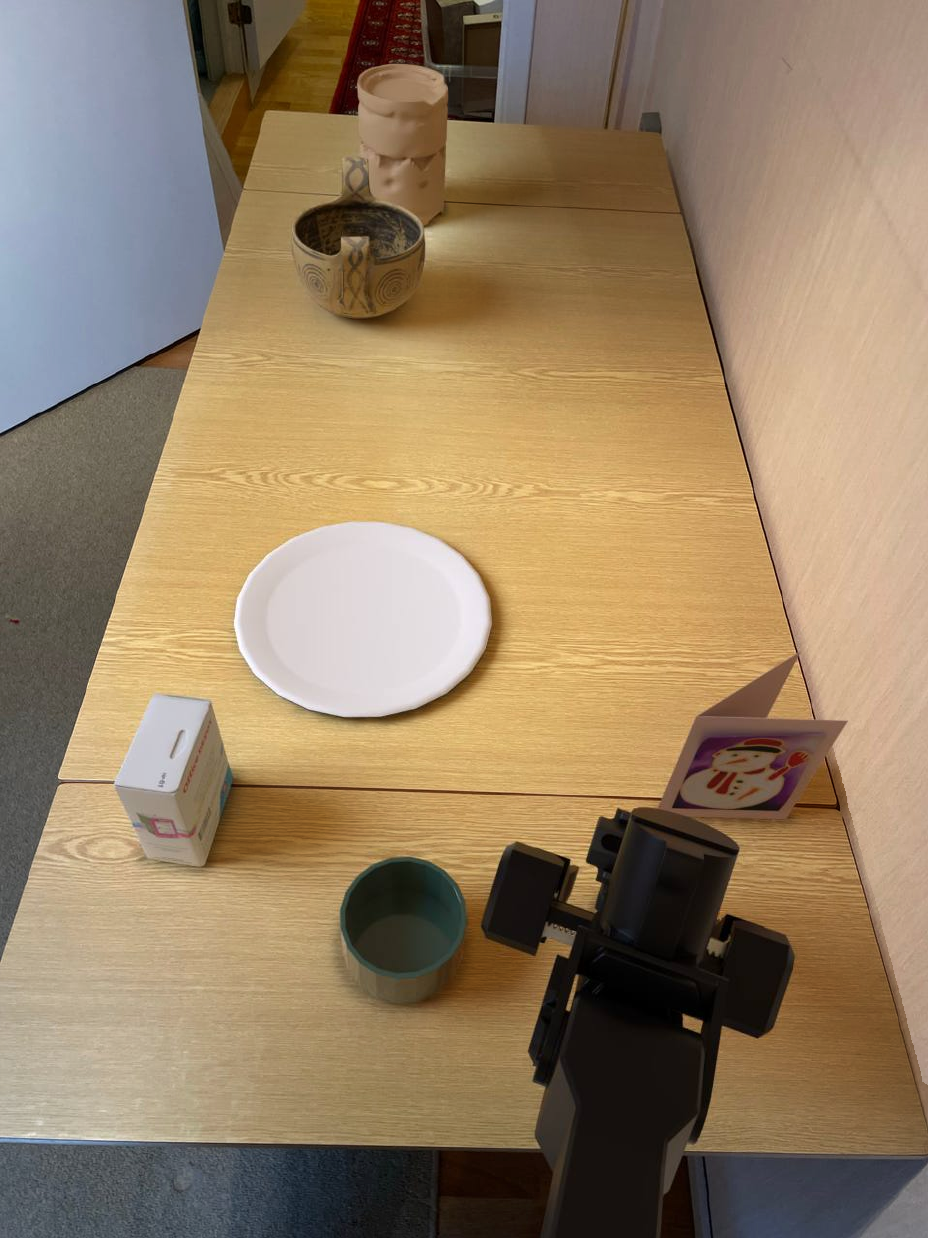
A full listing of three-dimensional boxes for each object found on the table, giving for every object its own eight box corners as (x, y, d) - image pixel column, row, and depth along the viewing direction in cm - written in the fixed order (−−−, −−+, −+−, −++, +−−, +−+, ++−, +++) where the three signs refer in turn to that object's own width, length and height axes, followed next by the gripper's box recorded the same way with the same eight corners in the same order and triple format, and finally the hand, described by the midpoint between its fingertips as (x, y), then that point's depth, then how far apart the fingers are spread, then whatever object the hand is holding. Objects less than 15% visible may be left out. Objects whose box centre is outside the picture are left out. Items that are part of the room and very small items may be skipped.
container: (452, 195, 152) (458, 71, 138) (431, 234, 144) (435, 107, 130) (374, 182, 153) (372, 57, 140) (350, 220, 145) (345, 92, 132)
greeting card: (656, 824, 83) (698, 726, 72) (645, 750, 88) (683, 647, 77) (788, 828, 84) (850, 730, 72) (770, 754, 89) (826, 651, 77)
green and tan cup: (468, 1000, 73) (472, 973, 69) (343, 1010, 72) (340, 983, 68) (457, 884, 79) (460, 853, 75) (342, 892, 78) (339, 860, 74)
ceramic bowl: (299, 258, 138) (291, 151, 126) (420, 260, 139) (422, 154, 128) (293, 352, 124) (282, 241, 112) (427, 353, 125) (431, 243, 114)
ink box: (177, 769, 84) (151, 688, 75) (234, 778, 84) (215, 697, 75) (143, 860, 79) (110, 784, 70) (204, 869, 79) (179, 794, 69)
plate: (283, 761, 85) (282, 753, 84) (204, 566, 99) (202, 558, 98) (536, 672, 93) (537, 663, 92) (429, 503, 107) (429, 494, 106)
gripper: (844, 909, 52) (803, 831, 67) (511, 796, 55) (544, 746, 71) (779, 1098, 53) (753, 980, 69) (456, 976, 57) (500, 889, 72)
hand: (636, 894), depth 70 cm, fingers open, 9 cm apart
